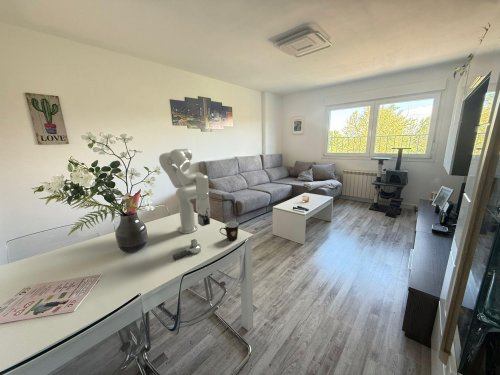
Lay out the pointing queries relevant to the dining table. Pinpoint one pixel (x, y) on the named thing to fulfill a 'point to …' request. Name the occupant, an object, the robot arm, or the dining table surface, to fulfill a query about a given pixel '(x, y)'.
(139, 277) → the dining table surface
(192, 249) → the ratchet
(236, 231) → the coffee mug
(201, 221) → the socket
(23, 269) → the dining table surface
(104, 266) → the dining table surface
